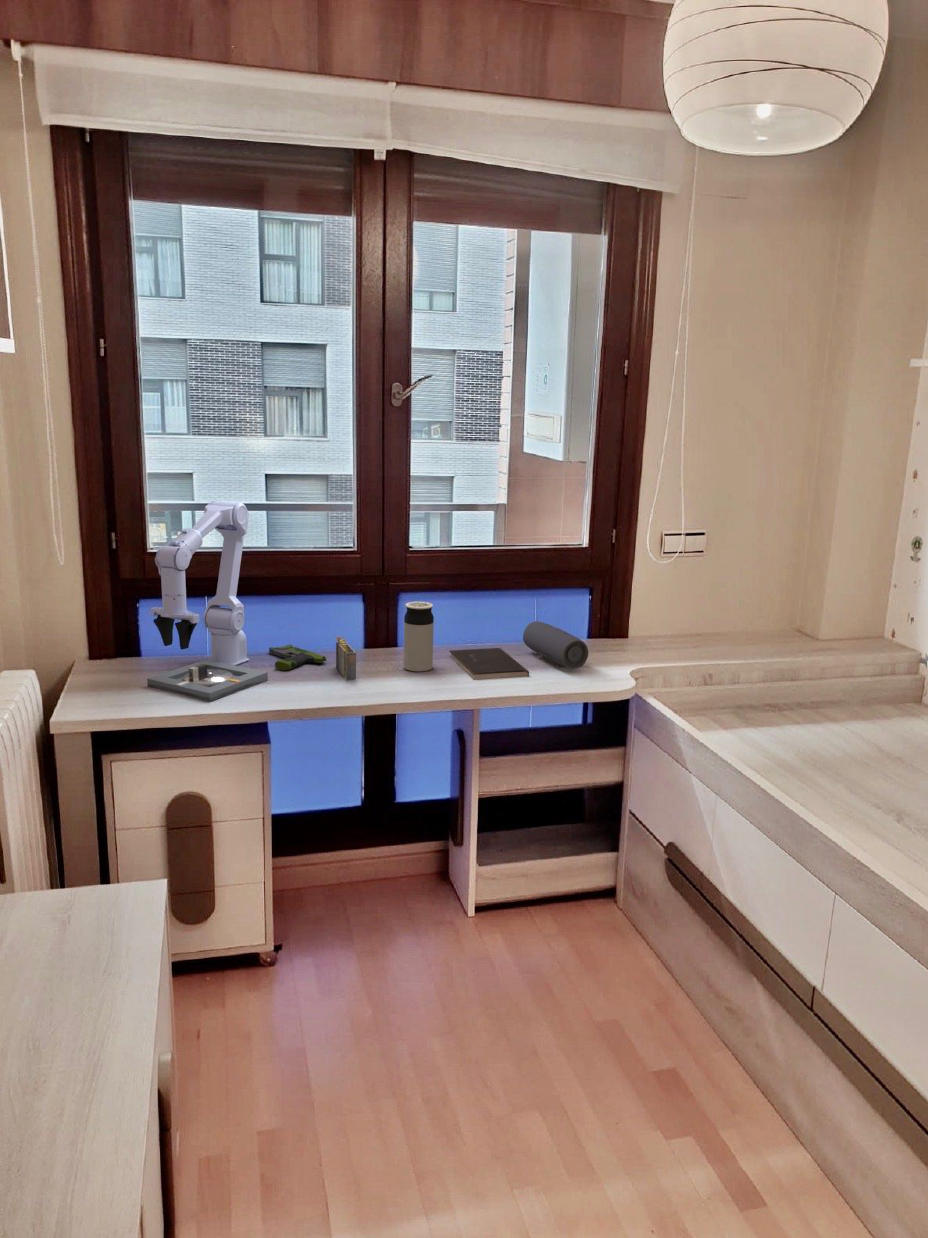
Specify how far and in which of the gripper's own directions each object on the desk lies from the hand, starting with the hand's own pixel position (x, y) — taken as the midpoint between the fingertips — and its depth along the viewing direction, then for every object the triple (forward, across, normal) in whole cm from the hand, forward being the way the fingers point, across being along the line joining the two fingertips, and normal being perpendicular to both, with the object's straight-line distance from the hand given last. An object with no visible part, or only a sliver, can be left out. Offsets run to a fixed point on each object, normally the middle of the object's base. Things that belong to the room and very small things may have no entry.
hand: (176, 646), depth 238 cm
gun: (+10, +9, +33) cm, 35 cm away
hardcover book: (+11, +58, +60) cm, 84 cm away
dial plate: (+10, +6, +5) cm, 12 cm away
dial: (+9, +6, +5) cm, 12 cm away
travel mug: (+10, +43, +47) cm, 64 cm away
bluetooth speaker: (+10, +72, +74) cm, 103 cm away
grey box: (+11, +29, +32) cm, 44 cm away
